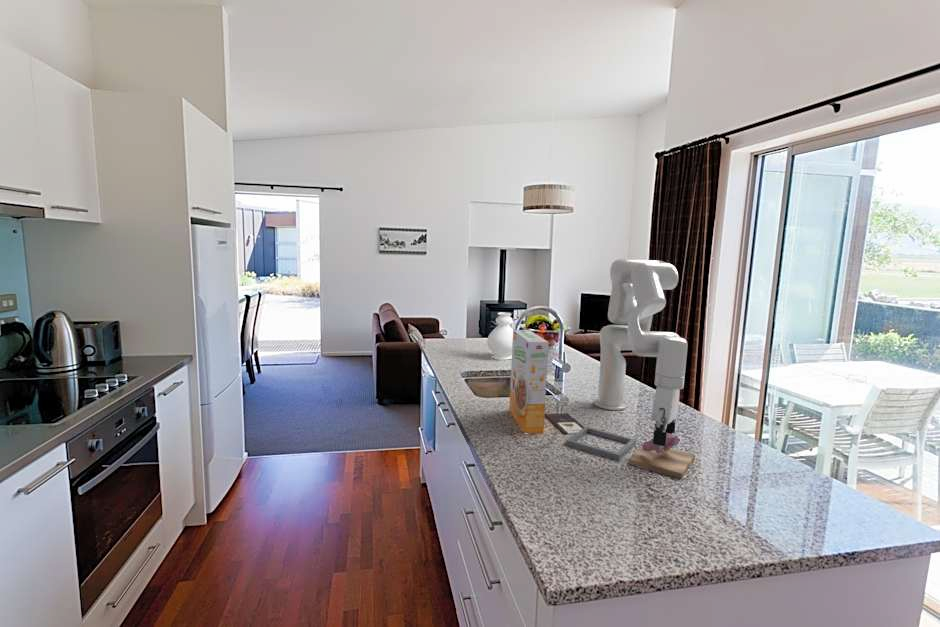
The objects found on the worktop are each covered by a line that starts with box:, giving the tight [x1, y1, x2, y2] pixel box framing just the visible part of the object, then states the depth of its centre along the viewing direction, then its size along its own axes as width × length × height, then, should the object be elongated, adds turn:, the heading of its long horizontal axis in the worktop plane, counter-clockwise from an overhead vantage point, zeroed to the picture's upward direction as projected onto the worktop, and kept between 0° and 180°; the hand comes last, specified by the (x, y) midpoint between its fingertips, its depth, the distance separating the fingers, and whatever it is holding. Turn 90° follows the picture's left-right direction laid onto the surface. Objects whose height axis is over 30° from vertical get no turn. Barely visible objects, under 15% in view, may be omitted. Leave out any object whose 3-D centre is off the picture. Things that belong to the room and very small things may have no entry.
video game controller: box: [641, 433, 681, 453], centre depth 135 cm, size 10×5×7 cm, turn 118°
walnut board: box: [628, 445, 696, 480], centre depth 135 cm, size 16×14×2 cm
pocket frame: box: [565, 426, 637, 461], centre depth 146 cm, size 15×16×2 cm
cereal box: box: [508, 329, 550, 434], centre depth 162 cm, size 22×6×30 cm, turn 8°
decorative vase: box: [486, 311, 514, 359], centre depth 260 cm, size 18×18×25 cm
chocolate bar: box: [544, 413, 591, 435], centre depth 162 cm, size 9×1×18 cm
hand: (663, 439), depth 134 cm, fingers closed on video game controller, 9 cm apart
